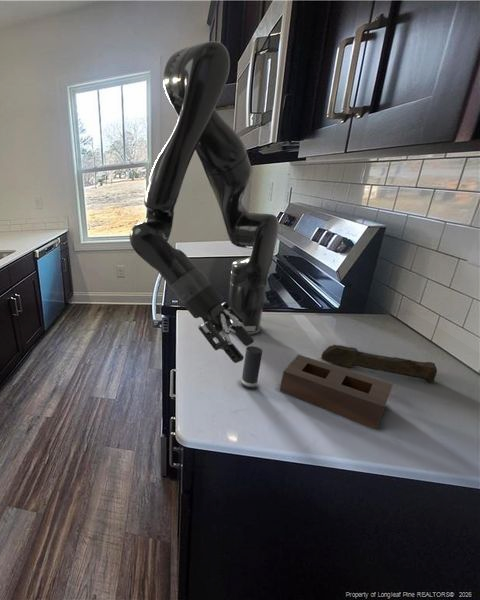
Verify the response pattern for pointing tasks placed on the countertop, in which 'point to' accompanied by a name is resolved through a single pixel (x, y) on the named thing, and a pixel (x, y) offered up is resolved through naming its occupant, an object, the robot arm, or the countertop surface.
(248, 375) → the dark grey cylinder
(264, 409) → the countertop surface
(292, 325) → the countertop surface
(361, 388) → the holder
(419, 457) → the countertop surface
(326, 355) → the hand tool
